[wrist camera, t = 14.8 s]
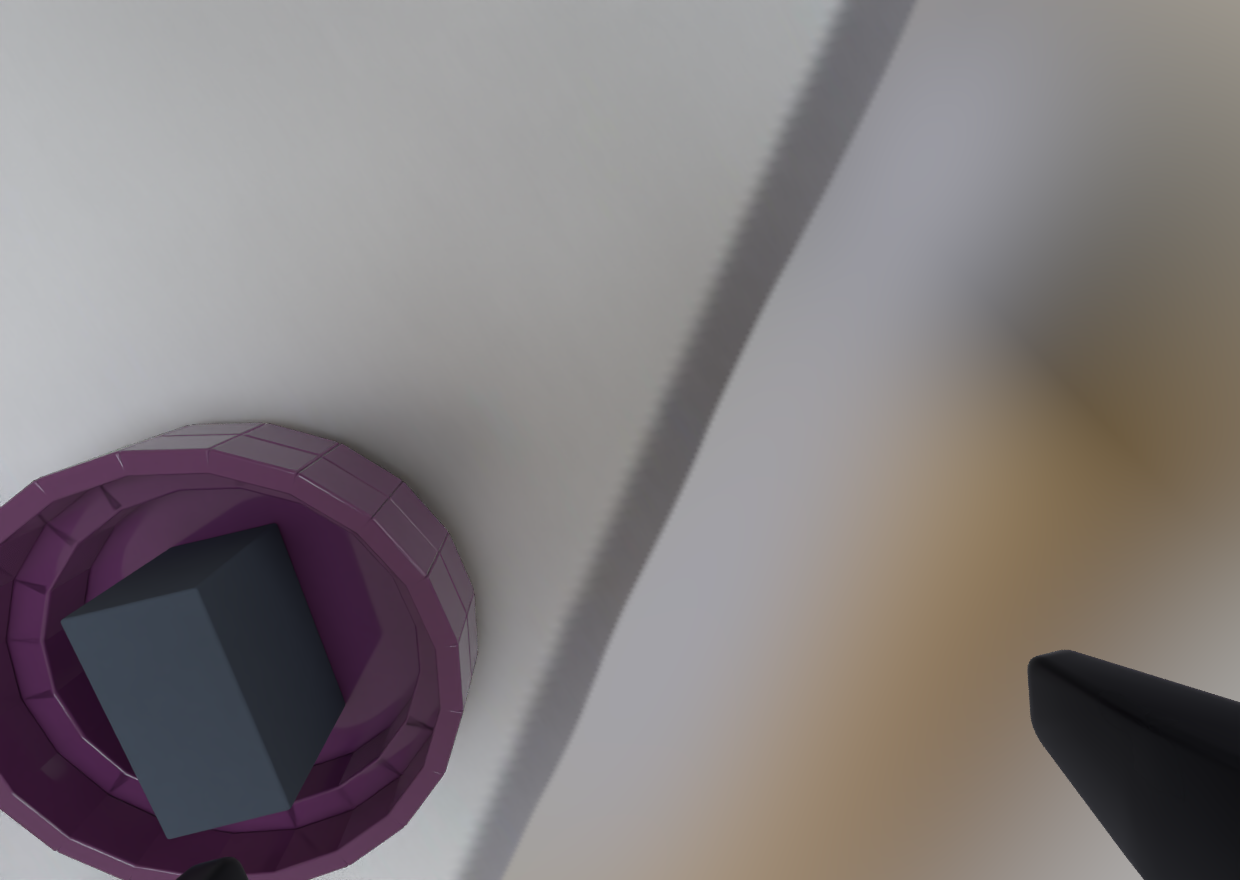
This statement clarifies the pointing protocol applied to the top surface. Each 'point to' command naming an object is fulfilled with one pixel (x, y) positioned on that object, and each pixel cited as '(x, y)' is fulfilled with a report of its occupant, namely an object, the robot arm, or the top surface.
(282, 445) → the bowl
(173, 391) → the top surface
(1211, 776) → the robot arm
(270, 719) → the eraser
